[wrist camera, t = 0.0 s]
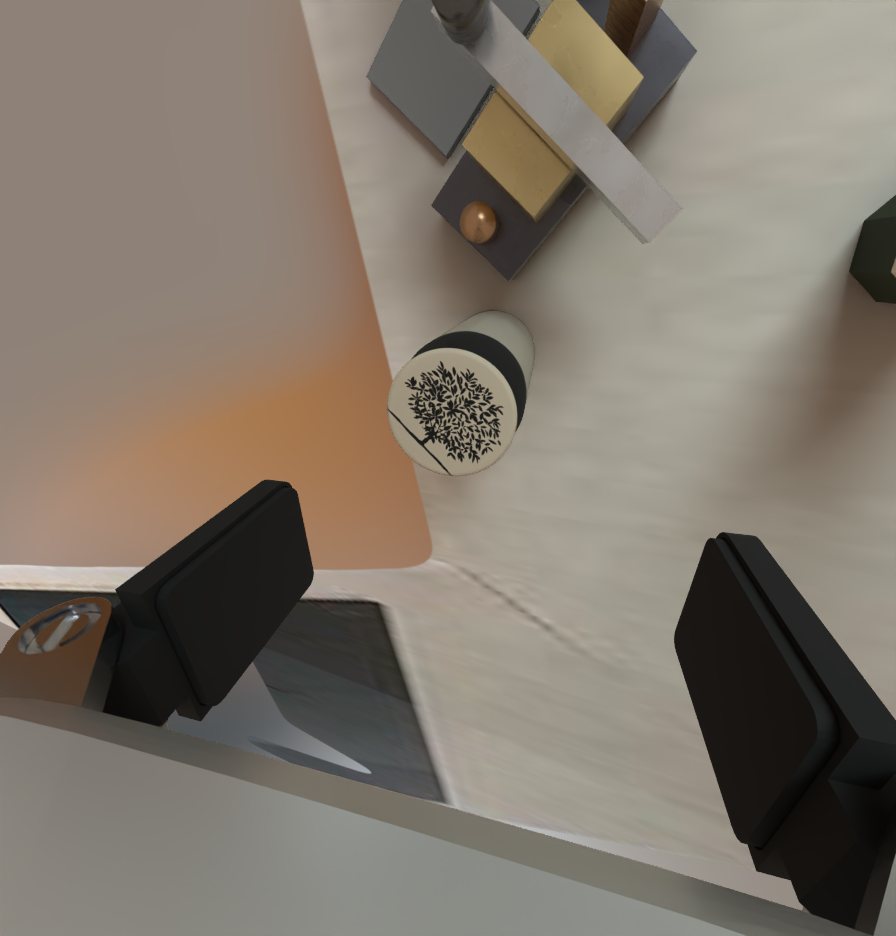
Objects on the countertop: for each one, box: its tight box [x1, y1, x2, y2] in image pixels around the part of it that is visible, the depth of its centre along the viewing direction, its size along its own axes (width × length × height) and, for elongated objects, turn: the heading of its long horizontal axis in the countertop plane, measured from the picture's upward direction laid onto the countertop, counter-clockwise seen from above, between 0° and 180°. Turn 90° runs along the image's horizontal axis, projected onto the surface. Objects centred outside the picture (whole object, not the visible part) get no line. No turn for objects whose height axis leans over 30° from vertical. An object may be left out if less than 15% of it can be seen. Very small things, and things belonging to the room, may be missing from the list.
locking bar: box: [431, 0, 682, 244], centre depth 20 cm, size 2×16×5 cm, turn 51°
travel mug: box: [387, 311, 535, 476], centre depth 30 cm, size 8×8×18 cm
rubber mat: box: [366, 0, 540, 158], centre depth 29 cm, size 10×8×1 cm
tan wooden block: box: [462, 0, 644, 224], centre depth 25 cm, size 8×6×5 cm
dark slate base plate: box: [431, 0, 697, 281], centre depth 26 cm, size 16×8×10 cm, turn 140°
